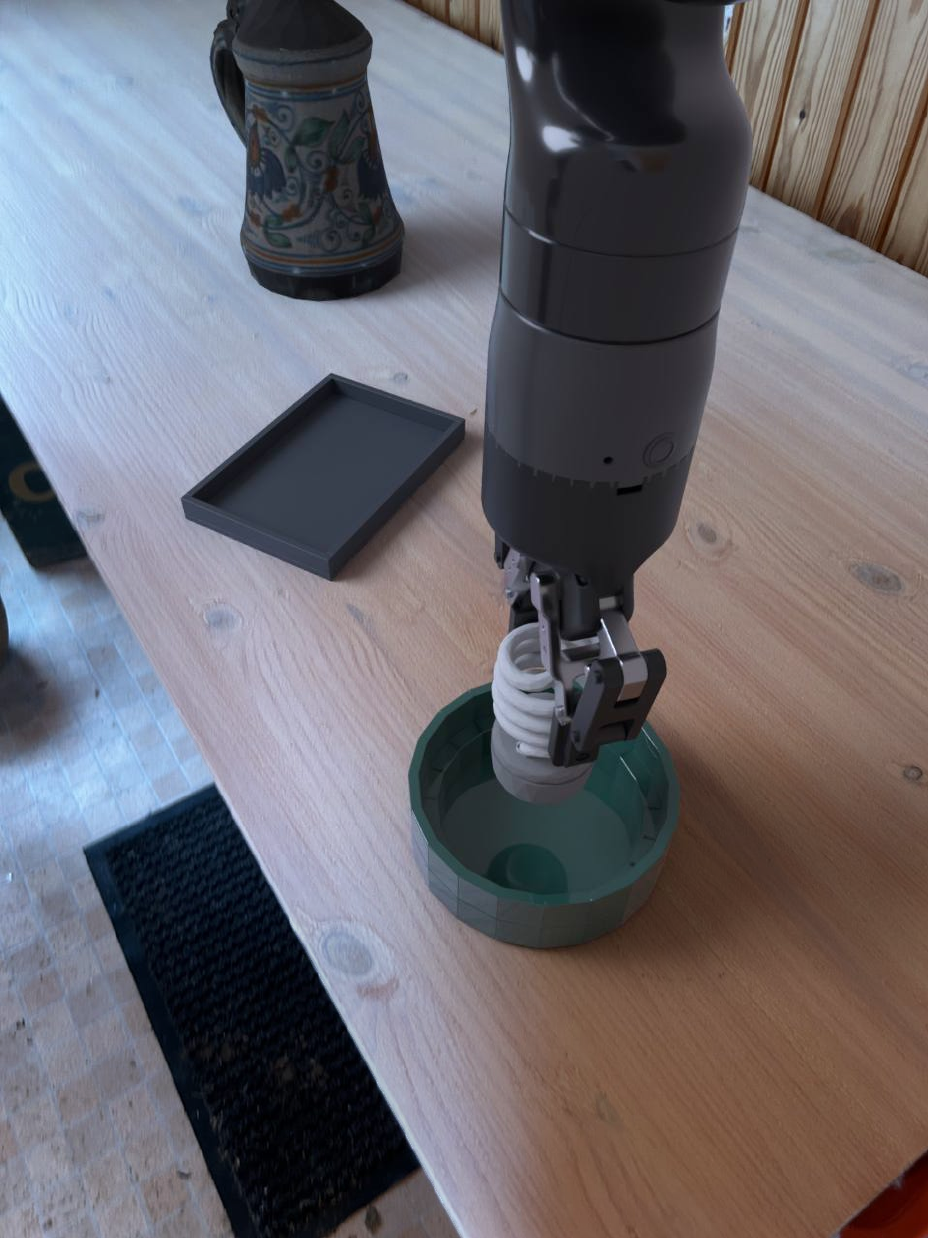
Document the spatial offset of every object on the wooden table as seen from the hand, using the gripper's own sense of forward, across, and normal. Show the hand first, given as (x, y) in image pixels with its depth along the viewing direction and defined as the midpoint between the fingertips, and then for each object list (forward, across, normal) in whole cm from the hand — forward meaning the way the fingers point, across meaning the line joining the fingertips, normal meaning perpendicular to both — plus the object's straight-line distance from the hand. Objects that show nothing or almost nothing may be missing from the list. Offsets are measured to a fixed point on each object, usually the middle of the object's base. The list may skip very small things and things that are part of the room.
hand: (550, 704), depth 46 cm
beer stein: (+12, -69, -1) cm, 70 cm away
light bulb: (+8, 0, 0) cm, 8 cm away
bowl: (+12, 0, 0) cm, 12 cm away
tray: (+12, -34, -5) cm, 36 cm away
